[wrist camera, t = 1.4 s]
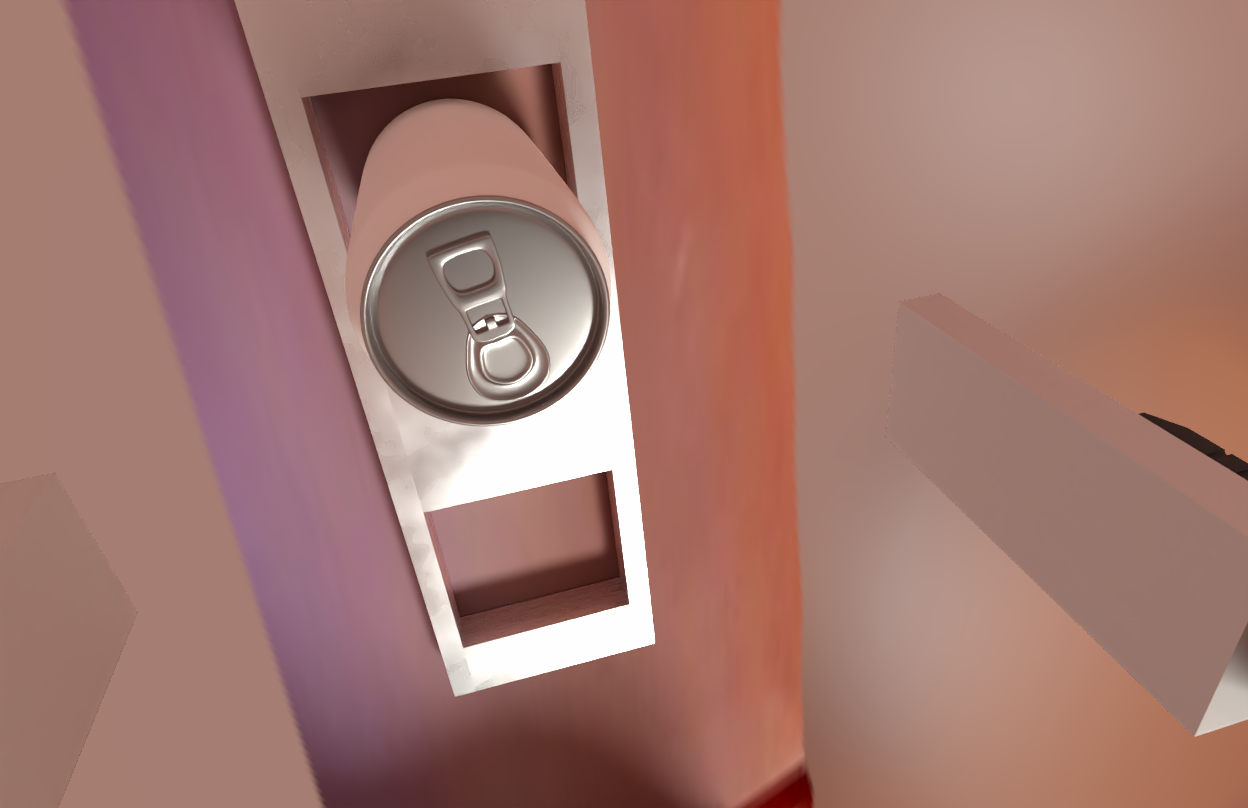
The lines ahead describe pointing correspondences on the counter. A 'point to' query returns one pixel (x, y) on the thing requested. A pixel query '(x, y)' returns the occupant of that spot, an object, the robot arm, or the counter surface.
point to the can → (473, 268)
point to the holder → (404, 436)
